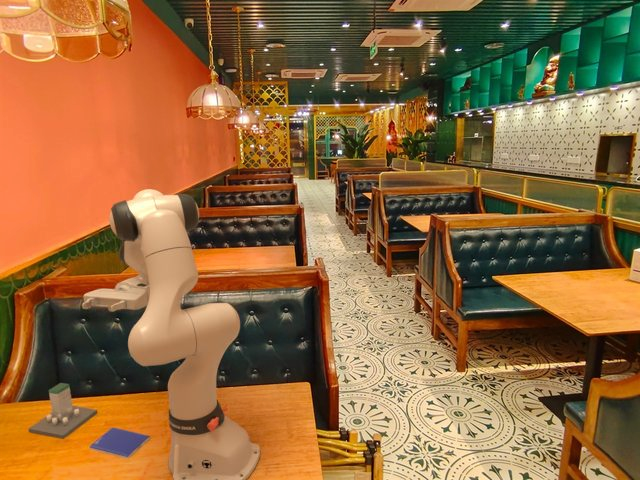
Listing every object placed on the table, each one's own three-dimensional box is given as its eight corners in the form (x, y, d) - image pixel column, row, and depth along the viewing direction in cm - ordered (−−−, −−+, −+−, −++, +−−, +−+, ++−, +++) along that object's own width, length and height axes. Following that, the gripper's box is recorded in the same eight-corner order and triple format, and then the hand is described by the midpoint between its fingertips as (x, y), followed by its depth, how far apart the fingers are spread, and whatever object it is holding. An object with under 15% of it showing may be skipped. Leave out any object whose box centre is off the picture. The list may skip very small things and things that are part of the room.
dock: (97, 412, 126) (96, 403, 126) (63, 438, 115) (62, 428, 114) (64, 407, 130) (63, 398, 129) (28, 431, 118) (27, 422, 118)
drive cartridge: (73, 415, 124) (69, 384, 122) (62, 423, 120) (57, 391, 118) (65, 414, 124) (60, 382, 122) (53, 422, 121) (48, 390, 119)
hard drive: (89, 445, 111) (127, 455, 107) (113, 426, 118) (149, 434, 114) (89, 451, 111) (128, 461, 107) (113, 431, 118) (150, 440, 115)
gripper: (101, 282, 143) (67, 295, 130) (154, 285, 138) (124, 300, 125) (103, 299, 145) (70, 314, 131) (155, 304, 139) (126, 320, 126)
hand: (97, 307), depth 128 cm, fingers open, 8 cm apart
